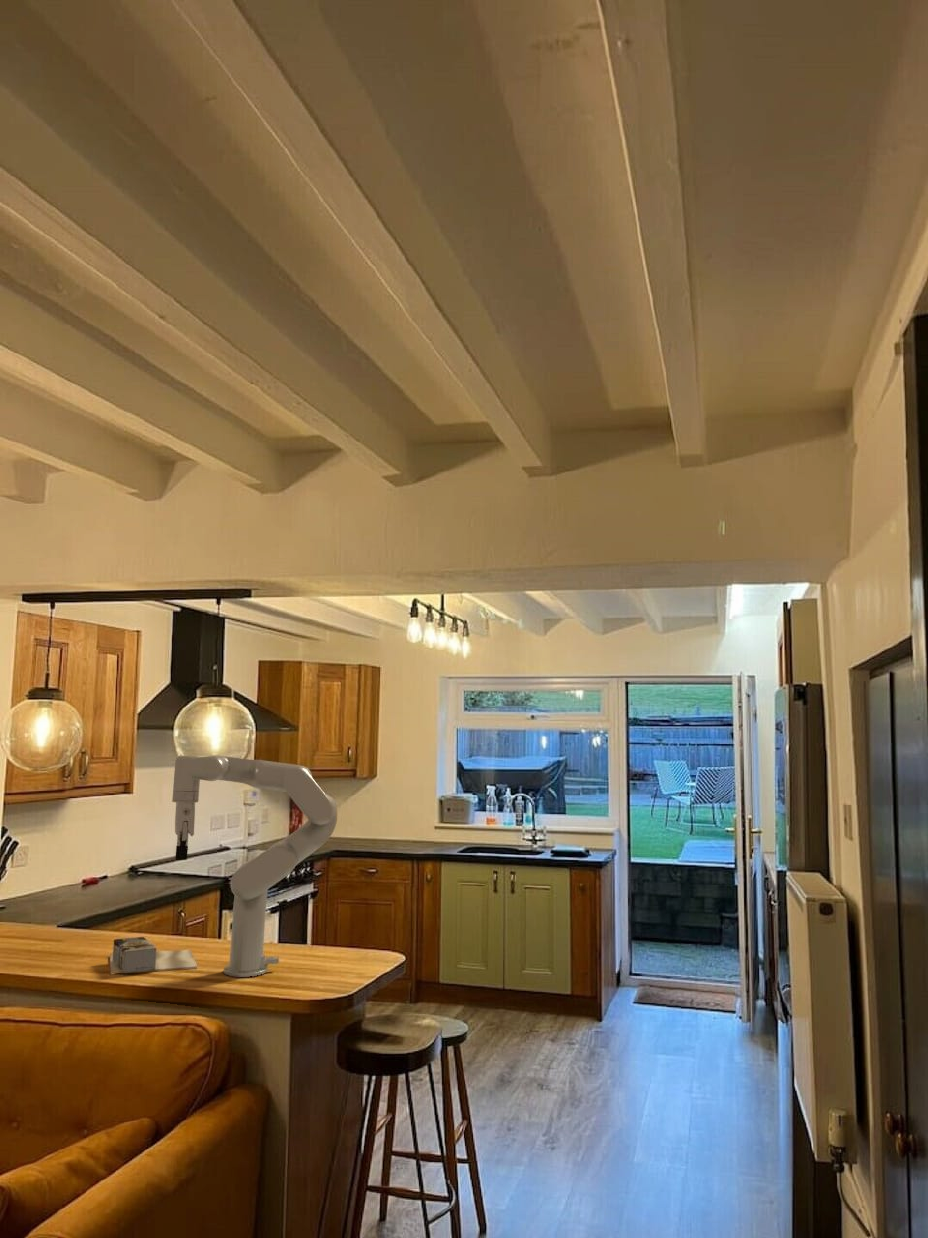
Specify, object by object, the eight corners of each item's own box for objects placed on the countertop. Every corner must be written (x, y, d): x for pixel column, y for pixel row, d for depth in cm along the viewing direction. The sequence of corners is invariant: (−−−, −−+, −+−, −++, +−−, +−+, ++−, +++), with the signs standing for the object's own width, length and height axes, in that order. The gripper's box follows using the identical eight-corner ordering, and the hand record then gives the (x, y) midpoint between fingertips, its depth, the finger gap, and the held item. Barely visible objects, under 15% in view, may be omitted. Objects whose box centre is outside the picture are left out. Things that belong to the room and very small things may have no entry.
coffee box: (124, 950, 251) (112, 939, 264) (123, 974, 250) (111, 961, 263) (157, 947, 256) (144, 936, 269) (155, 970, 255) (142, 957, 268)
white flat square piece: (190, 951, 280) (190, 949, 280) (197, 968, 260) (197, 966, 260) (109, 956, 271) (110, 954, 271) (110, 974, 251) (110, 972, 251)
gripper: (201, 798, 257) (196, 862, 255) (196, 795, 271) (191, 856, 268) (174, 798, 254) (169, 863, 252) (170, 795, 268) (166, 856, 265)
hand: (181, 859), depth 260 cm, fingers closed
